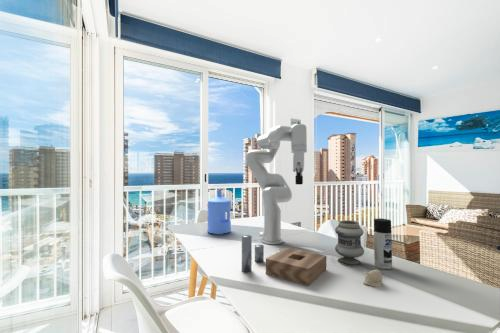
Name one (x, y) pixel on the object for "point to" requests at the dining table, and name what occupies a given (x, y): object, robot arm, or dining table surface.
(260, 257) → the short pin
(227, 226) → the water jug
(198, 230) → the dining table surface
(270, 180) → the robot arm
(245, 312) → the dining table surface
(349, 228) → the apothecary jar
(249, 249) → the tall pin
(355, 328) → the dining table surface
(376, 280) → the decorative ornament
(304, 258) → the hole block
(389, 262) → the spray can
